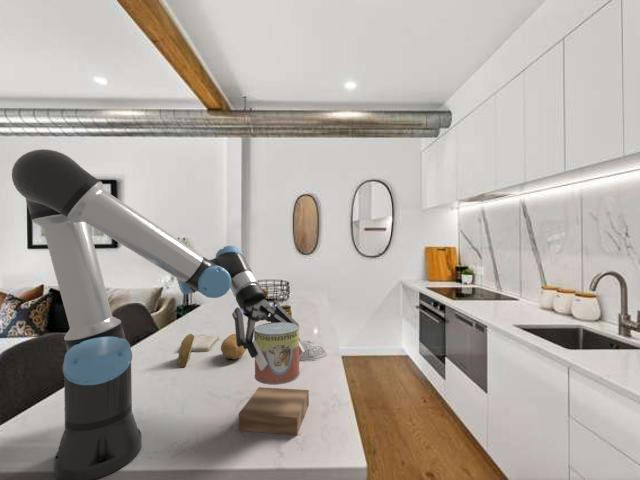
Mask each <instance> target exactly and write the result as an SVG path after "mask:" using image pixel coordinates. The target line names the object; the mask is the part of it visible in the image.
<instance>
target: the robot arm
mask: <svg viewBox="0 0 640 480" xmlns="http://www.w3.org/2000/svg"><path fill="white" fill-rule="evenodd" d="M11 179H12V183H13V185H14V187H15V189H16V191H18V192H19V194H20V195H21V196H22V197H24V198H25V200H26V204H27V208H28V211H29V214H30V215H29V216H30V219H31V222H32V223H34V224H36V225H37V226H39V227H41V228H42V229H43V234H44V237H45V242H46V245H47V249H48V251H49V256H50V260H51V263H52V267H53V270H54V274H55V278H56V281H57V285H58V290H59V293H60V296H61V300H62V304H63V307H64V311H65V315H66V319H67V322H68V327H69V329H68V331H67V332H66V334H65V335H64V337H63V339H64V344H65V346H66V347H65V348H66V353H65V355H64V361H63V363H62V373H63V376H64V377H63V378H64V379H63V380H64V388H63V389H64V431H63V433H62V437H61V440H60V442H59V445H58V451H57V452H56V454H55V456H54V459H53V474H54V477H55V478H56V479H57V480H96V479H99V478H102V477H105V476H107V475H110V474H112V473H114V472H116V471H118V470H120V469H122V468H123V467H124V466H126V465H128V464H129V463H131V462H132V460H134V459H135V458H136V457H137V456H138V455H139V453H140V451H141V450H142V447H143V446H142V445H143V444H142V442H143V441H142V432H141V430H140V429H139V428H138V425H137V422H136V419H135V416H134V414H133V409H132V407H133V398H132V397H133V395H132V394H133V391H132V390H133V389H132V386H133V385H132V384H133V383H132V360H133V352H132V347H131V344H130V342H129V341H128V340H127V339H126V335H125V332H124V331H125V330H124V327H123V324H122V320H121V319H119V318H117V317H115V316H113V313H112V310H111V306H110V303H109V298H108V293H107V289H106V286H105V283H104V278H103V275H102V274H103V273H102V271H101V267H100V262H99V259H98V256H97V255H98V254H97V251H96V248H95V243H94V240H93V239H94V238H93V235H92V232H91V228H90V227H92V228H94V229H95V230H97V231H99V232H101V233H103V234H104V235H106V236H107V237H109V238H110V239H112V240H114V241H115V242H117V243H118V244H121V245H122V246H124V247H125V248H127V249H129V250H130V251H132V252H134V253H135V254H137V255H138V256H140V257H141V258H143V259H145V260H146V261H148V262H150V263H151V264H154V266H157V267H158V268H160V269H161V270H163V271H164V272H166V273H167V274H170V275H171V276H173V277H174V278H176V280H177V283H178V287H179V290H180V291H181V293H182V294H183V295H189V294H195V293H197V292H199V293H200V294H201V295H203V296H204V297H206V298H209V299H218V298H220V297H223V296H225V295H226V294H227V293H228V292H229V290H231V292H232V295H233V296H234V298H235V301H236V302H237V305H238V307H235V309H234V310H233V312H232V315H231V316H232V318H233V320H234V325H235V327H234V328H235V334H236V342H237V346H238V347H240V346H243V348H244V349H246V350H247V351H248V353H249V356H250V357H251V359H254V361H255V360H256V362H257V364H258V367H259V369H260V371H262V370H264V368H265V367H266V366H267V364H268V363H267V361H266V359H265V357H264V355H263V353H262V351H261V349H260V348H259V346H258V343H257V341H254V340H253V339H254V328H255V327H256V323H258V322H259V321H266V322H267V323H273V322H288V323H294V324H296V325H298V326H299V327H300V325H299V323H298V322H297V321H296V320H295V319H294V318H293V316H292V317H291V316H290V315H289V314H288V313H287V312H286V311H285V310H284V309H283V308H282V307H281V306H282V305H281V304H280V302H279V301H278V300H274V302H269V301H268V300H267V298H266V294H265V292H264V291H263V289H262V288H263V287H261V285H260V282H259V281H258V279H257V277H256V275H255V274H254V272H253V271H252V269H251V267H250V266H249V263H248V261H247V260H246V257H245V255H244V254H243V253H242V251H241V249H240V248H239V247H237V246H236V245H226V246H223V248H220V249H219V250H217V252H216V253H215V257H214V258H212V259H208V258H207V257H204V256H203V254H201V253H199V252H198V251H196V250H195V249H193V248H192V247H190V246H189V245H187V244H186V243H184V242H183V241H181V240H180V239H178V238H176V237H175V236H174V235H172V234H171V233H169V232H168V231H167V230H165V229H163V228H162V227H160V226H159V225H157V224H156V223H154V222H153V221H151V220H150V219H148V218H147V217H145V216H144V215H142V214H141V213H139V212H138V211H136V210H135V209H133V208H131V206H129V205H127V204H126V203H124V202H123V201H121V200H120V199H118V198H117V197H115V196H114V195H112V194H111V193H109V191H107V190H106V189H104V185H103V182H102V181H101V180H99V179H97V177H95V176H94V175H92V174H91V173H90V172H88V171H87V170H85V169H84V168H83V167H81V165H79V163H77V162H76V161H75V160H74V159H72V158H71V157H70V156H68V155H66V154H64V153H62V152H60V151H57V150H52V149H43V148H42V149H35V150H31V151H28V152H26V153H24V154H22V155H21V156H20V157H19V158H18V159H17V160H16V161H15V162H14V164H13V167H12V169H11ZM269 315H270V316H269ZM244 316H245V317H246V318H247V322H246V325H247V326H246V332H245V326H244V325H245V323H244ZM300 340H301V339H300V337H299V357H300V356H301V355H302V354H303V353H304V352H305V351H304V349H303V347H302V345H301V344H300Z"/></svg>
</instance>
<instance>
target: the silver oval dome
mask: <svg viewBox="0 0 640 480" xmlns="http://www.w3.org/2000/svg"><path fill="white" fill-rule="evenodd" d="M300 344H301V345H302V347H303V349H304V351H305V352H304V353H303V354H302V355H301V356H300V357H299V362H303V363H304V362H309V361H310V362H311V361H320V360H323V359H325V358H327V356H328V354H327V351H326V349H325V348H324V347H323V345H321V344H320V343H317V342H316V341H312V340H309V339H307V340H306V339H300Z"/></svg>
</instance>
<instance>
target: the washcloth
mask: <svg viewBox="0 0 640 480" xmlns="http://www.w3.org/2000/svg"><path fill="white" fill-rule="evenodd" d="M219 340H220V334H211V335H208V334H207V335H206V334H199V335H197V334H196V335H194V340H193V344H192V349H191V353H192V352H195V353H196V352H197V353H199V352H198V351H201V352H210V351H211V350H212V349H213V347H214V346H215V345H216V344H217V342H219Z"/></svg>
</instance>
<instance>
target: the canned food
mask: <svg viewBox="0 0 640 480" xmlns="http://www.w3.org/2000/svg"><path fill="white" fill-rule="evenodd" d="M299 329H300V325H299V326H298V325H296V324H294V323H288V322H273V323H271V322H266V323H262V324H258V325H255V327H254V334H253V339H254V340H253V341H257V343H258V346H259V348H260V349H261V351H262V353H263V355H264V357H265V359H266V361H267V363H268V364H267V366H266V367H265V368H264V370H262V371H260V369H259V367H258V364H257V362H256V360H255V359H254V379H255V380H256V381H257V382H258V383H260V384H263V385H273V386H276V385H277V386H278V385H279V386H280V385H284V384H288V383H291V382H293V381H296V380H297V379H298V378H299V377H300V375H301V374H300V373H301V372H300V361H299V338H300V335H299V333H300V332H299Z"/></svg>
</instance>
